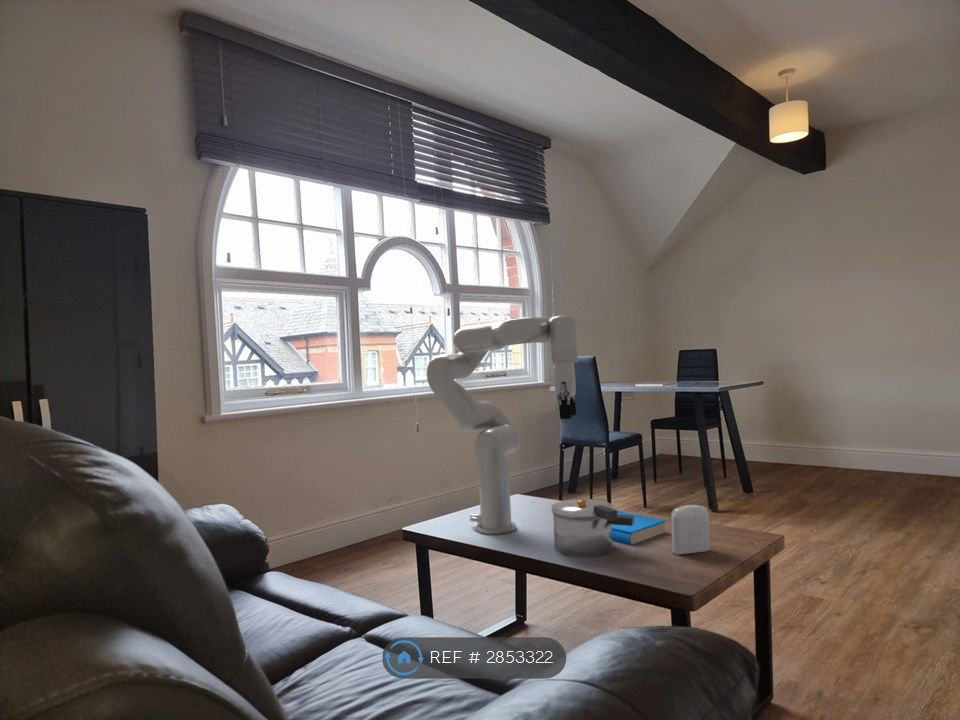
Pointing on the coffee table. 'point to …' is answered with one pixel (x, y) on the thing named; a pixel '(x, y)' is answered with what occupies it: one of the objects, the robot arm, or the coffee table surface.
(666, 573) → the coffee table surface
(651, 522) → the book
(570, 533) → the cooker pot
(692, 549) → the white arched block
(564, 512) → the lid
